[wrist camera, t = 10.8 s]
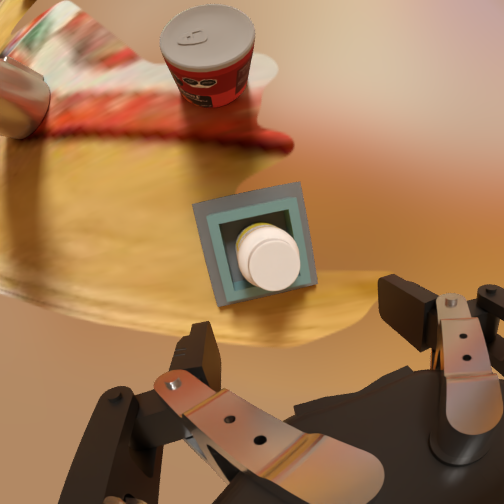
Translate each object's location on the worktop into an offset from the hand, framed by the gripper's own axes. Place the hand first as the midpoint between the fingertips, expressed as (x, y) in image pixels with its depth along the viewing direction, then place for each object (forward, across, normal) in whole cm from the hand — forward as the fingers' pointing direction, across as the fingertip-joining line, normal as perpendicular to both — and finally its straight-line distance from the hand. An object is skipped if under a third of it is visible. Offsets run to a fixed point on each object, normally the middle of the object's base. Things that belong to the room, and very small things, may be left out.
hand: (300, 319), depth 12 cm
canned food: (+20, +1, -20) cm, 28 cm away
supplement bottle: (+19, 0, 0) cm, 19 cm away
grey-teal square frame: (+20, 0, 0) cm, 20 cm away
